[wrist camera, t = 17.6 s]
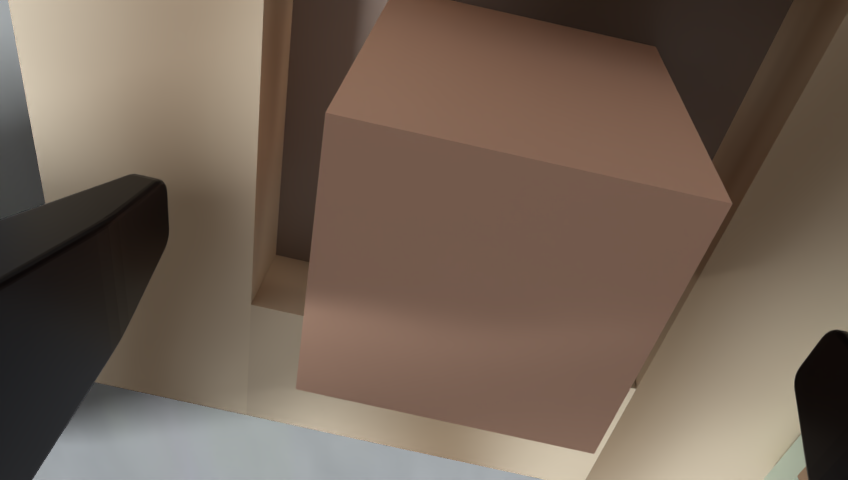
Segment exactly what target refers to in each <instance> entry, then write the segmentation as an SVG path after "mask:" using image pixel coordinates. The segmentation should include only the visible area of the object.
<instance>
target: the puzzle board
mask: <svg viewBox="0 0 848 480" xmlns="http://www.w3.org/2000/svg"><path fill="white" fill-rule="evenodd" d="M452 1H456V2H461V3H465V4H470V5H474V6H478V7H483V8H487V9H492V10H496V11H501V12H505V13H509V14H514V15H518V16H523V17H527V18H531V19H536V20H540V21H545V22H549V23H553V24H558V25H562V26H567V27H571V28H575V29H580V30H584V31H589V32H593V33H597V34H602V35H606V36H611V37H615V38H620V39H624V40H628V41H633V42H637V43H642V44H646V45H650V46H655V47H656V48H657V50H658V52H659V54H660V56H661V59H662V61H663V63H664V65H665V67H666V69H667V71H668V73H669V75H670V77H671V79H672V81H673V83H674V85H675V87H676V89H677V91H678V93H679V95H680V97H681V99H682V101H683V103H684V106H685V108H686V110H687V112H688V114H689V116H690V118H691V120H692V122H693V124H694V126H695V128H696V130H697V132H698V134H699V136H700V138H701V140H702V142H703V144H704V146H705V148H706V150H707V153H708V155H709V157H710V159H711V161H712V163H713V165H714V167H715V169H716V171H717V173H718V175H719V177H720V179H721V181H722V183H723V185H724V187H725V189H726V191H727V193H728V195H729V198H730V200H731V202H732V206H731V207H730V209H729V211H728V213H727V215H726V216H725V218H724V220H723V222H722V224H721V226H720V227H719V229H718V231H717V233H716V235H715V236H714V238H713V240H712V242H711V244H710V245H709V247H708V249H707V251H706V253H705V254H704V256H703V258H702V260H701V262H700V263H699V265H698V267H697V269H696V271H695V273H694V274H693V276H692V278H691V280H690V282H689V283H688V285H687V287H686V289H685V291H684V292H683V294H682V296H681V298H680V300H679V301H678V303H677V305H676V307H675V309H674V310H673V312H672V314H671V316H670V318H669V320H668V321H667V323H666V325H665V327H664V329H663V330H662V332H661V334H660V336H659V338H658V339H657V341H656V343H655V345H654V347H653V348H652V350H651V352H650V354H649V356H648V357H647V359H646V361H645V363H644V365H643V367H642V368H641V370H640V372H639V374H638V376H637V377H636V379H635V381H634V383H633V385H632V386H631V388H630V390H629V392H628V394H627V395H626V397H625V399H624V401H623V403H622V404H621V406H620V408H619V410H618V412H617V414H616V415H615V417H614V419H613V421H612V423H611V424H610V426H609V428H608V430H607V432H606V433H605V435H604V437H603V439H602V441H601V442H600V444H599V446H598V448H597V450H596V451H595V453H594V454H591V453H587V452H582V451H578V450H573V449H568V448H564V447H559V446H555V445H550V444H545V443H541V442H536V441H532V440H527V439H522V438H518V437H513V436H509V435H504V434H500V433H495V432H490V431H486V430H481V429H477V428H472V427H467V426H463V425H458V424H454V423H449V422H444V421H440V420H435V419H431V418H426V417H421V416H417V415H412V414H408V413H403V412H398V411H394V410H389V409H385V408H380V407H375V406H371V405H366V404H362V403H357V402H352V401H348V400H343V399H339V398H334V397H329V396H325V395H320V394H316V393H311V392H307V391H302V390H297V389H296V381H297V372H298V363H299V354H300V344H301V335H302V326H303V316H304V307H305V298H306V288H307V279H308V270H309V260H310V251H311V242H312V232H313V223H314V214H315V204H316V195H317V186H318V177H319V167H320V158H321V149H322V139H323V130H324V121H325V112H326V111H327V109H328V107H329V105H330V103H331V102H332V100H333V98H334V96H335V95H336V93H337V91H338V89H339V87H340V86H341V84H342V82H343V80H344V78H345V77H346V75H347V73H348V71H349V70H350V68H351V66H352V64H353V62H354V61H355V59H356V57H357V55H358V54H359V52H360V50H361V48H362V46H363V45H364V43H365V41H366V39H367V37H368V36H369V34H370V32H371V30H372V29H373V27H374V25H375V23H376V21H377V20H378V18H379V16H380V14H381V12H382V11H383V9H384V7H385V5H386V4H387V2H388V0H8V2H9V7H10V13H11V18H12V24H13V29H14V35H15V40H16V46H17V51H18V57H19V62H20V68H21V73H22V79H23V84H24V90H25V95H26V101H27V106H28V112H29V117H30V123H31V128H32V134H33V139H34V145H35V150H36V156H37V161H38V166H39V172H40V177H41V183H42V188H43V194H44V199H45V204H46V203H49V202H52V201H55V200H58V199H61V198H63V197H66V196H69V195H72V194H75V193H78V192H80V191H83V190H86V189H89V188H92V187H95V186H98V185H100V184H103V183H106V182H109V181H112V180H115V179H118V178H120V177H123V176H126V175H129V174H140V175H144V176H149V177H153V178H158V179H161V180H162V181H163V182H164V183H165V184H166V187H167V194H168V214H169V238H168V242H167V245H166V248H165V250H164V252H163V254H162V256H161V258H160V261H159V263H158V265H157V267H156V269H155V271H154V273H153V275H152V277H151V279H150V281H149V284H148V286H147V288H146V290H145V292H144V294H143V296H142V298H141V300H140V302H139V304H138V307H137V309H136V311H135V313H134V315H133V317H132V319H131V321H130V323H129V325H128V327H127V329H126V331H125V333H124V335H123V337H122V339H121V341H120V342H119V344H118V346H117V347H116V349H115V351H114V352H113V354H112V356H111V357H110V359H109V360H108V362H107V363H106V365H105V366H104V368H103V370H102V371H101V373H100V374H99V376H98V377H97V379H96V381H95V382H96V383H101V384H105V385H110V386H115V387H119V388H124V389H128V390H133V391H138V392H142V393H147V394H152V395H156V396H161V397H165V398H170V399H175V400H179V401H184V402H188V403H193V404H198V405H202V406H207V407H212V408H216V409H221V410H225V411H230V412H235V413H239V414H244V415H249V416H253V417H258V418H262V419H267V420H272V421H276V422H281V423H285V424H290V425H295V426H299V427H304V428H309V429H313V430H318V431H322V432H327V433H332V434H336V435H341V436H346V437H350V438H355V439H359V440H364V441H369V442H373V443H378V444H383V445H387V446H392V447H396V448H401V449H406V450H410V451H415V452H419V453H424V454H429V455H433V456H438V457H443V458H447V459H452V460H456V461H461V462H466V463H470V464H475V465H480V466H484V467H489V468H493V469H498V470H503V471H507V472H512V473H516V474H521V475H526V476H530V477H535V478H540V479H544V480H764V478H765V477H766V476H767V475H768V473H769V472H770V471H771V470H772V469H773V467H774V466H775V465H776V464H777V463H778V461H779V460H780V459H781V458H782V457H783V455H784V454H785V453H786V452H787V451H788V449H789V448H790V447H791V446H792V445H793V443H794V442H795V441H796V440H797V439H798V437H799V436H800V435H801V430H800V423H799V417H798V410H797V403H796V397H795V390H794V380H795V375H796V373H797V371H798V369H799V367H800V366H801V365H802V363H803V362H804V361H805V359H806V358H807V357H808V355H809V354H810V353H811V351H812V350H813V349H814V347H815V346H816V345H817V343H818V342H819V341H820V339H821V338H822V337H823V336H824V335H825V334H826V333H827V332H829V331H831V330H836V329H837V330H842V331H847V332H848V0H452Z"/></svg>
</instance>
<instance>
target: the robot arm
mask: <svg viewBox="0 0 848 480" xmlns="http://www.w3.org/2000/svg"><path fill="white" fill-rule="evenodd" d="M168 238H169V214H168V194H167V187H166V184H165V183H164V182H163V181H162V180H161V179H158V178H153V177H149V176H144V175H140V174H129V175H126V176H123V177H120V178H118V179H115V180H112V181H109V182H106V183H103V184H100V185H98V186H95V187H92V188H89V189H86V190H83V191H80V192H78V193H75V194H72V195H69V196H66V197H63V198H61V199H58V200H55V201H52V202H49V203H46V204H43V205H41V206H38V207H35V208H32V209H29V210H26V211H23V212H21V213H18V214H15V215H12V216H9V217H6V218H3V219H1V220H0V480H32V479H33V478H34V476H35V475H36V473H37V471H38V470H39V468H40V467H41V465H42V464H43V462H44V460H45V459H46V457H47V456H48V454H49V453H50V451H51V449H52V448H53V446H54V445H55V443H56V442H57V440H58V439H59V437H60V435H61V434H62V432H63V431H64V429H65V428H66V426H67V424H68V423H69V421H70V420H71V418H72V417H73V415H74V413H75V412H76V410H77V409H78V407H79V406H80V404H81V402H82V401H83V399H84V398H85V396H86V395H87V393H88V392H89V390H90V388H91V387H92V385H93V384H94V382H95V381H96V379H97V377H98V376H99V374H100V373H101V371H102V370H103V368H104V366H105V365H106V363H107V362H108V360H109V359H110V357H111V356H112V354H113V352H114V351H115V349H116V347H117V346H118V344H119V342H120V341H121V339H122V337H123V335H124V333H125V331H126V329H127V327H128V325H129V323H130V321H131V319H132V317H133V315H134V313H135V311H136V309H137V307H138V304H139V302H140V300H141V298H142V296H143V294H144V292H145V290H146V288H147V286H148V284H149V281H150V279H151V277H152V275H153V273H154V271H155V269H156V267H157V265H158V263H159V261H160V258H161V256H162V254H163V252H164V250H165V248H166V245H167V242H168ZM794 390H795V397H796V403H797V410H798V417H799V423H800V430H801V437H802V443H803V450H804V457H805V463H806V470H807V476H808V480H848V332H847V331H842V330H837V329H836V330H831V331H829V332H827V333H826V334H825V335H824V336H823V337H822V338H821V339H820V341H819V342H818V343H817V345H816V346H815V347H814V349H813V350H812V351H811V353H810V354H809V355H808V357H807V358H806V359H805V361H804V362H803V363H802V365H801V366H800V367H799V369H798V371H797V373H796V375H795V380H794Z"/></svg>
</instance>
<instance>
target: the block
mask: <svg viewBox="0 0 848 480" xmlns="http://www.w3.org/2000/svg"><path fill="white" fill-rule="evenodd" d="M731 206H732V202H731V200H730V198H729V195H728V193H727V191H726V189H725V187H724V185H723V183H722V181H721V179H720V177H719V175H718V173H717V171H716V169H715V167H714V165H713V163H712V161H711V159H710V157H709V155H708V153H707V150H706V148H705V146H704V144H703V142H702V140H701V138H700V136H699V134H698V132H697V130H696V128H695V126H694V124H693V122H692V120H691V118H690V116H689V114H688V112H687V110H686V108H685V106H684V103H683V101H682V99H681V97H680V95H679V93H678V91H677V89H676V87H675V85H674V83H673V81H672V79H671V77H670V75H669V73H668V71H667V69H666V67H665V65H664V63H663V61H662V59H661V56H660V54H659V52H658V50H657V48H656V47H655V46H650V45H646V44H642V43H637V42H633V41H628V40H624V39H620V38H615V37H611V36H606V35H602V34H597V33H593V32H589V31H584V30H580V29H575V28H571V27H567V26H562V25H558V24H553V23H549V22H545V21H540V20H536V19H531V18H527V17H523V16H518V15H514V14H509V13H505V12H501V11H496V10H492V9H487V8H483V7H478V6H474V5H470V4H465V3H461V2H456V1H452V0H388V2H387V4H386V5H385V7H384V9H383V11H382V12H381V14H380V16H379V18H378V20H377V21H376V23H375V25H374V27H373V29H372V30H371V32H370V34H369V36H368V37H367V39H366V41H365V43H364V45H363V46H362V48H361V50H360V52H359V54H358V55H357V57H356V59H355V61H354V62H353V64H352V66H351V68H350V70H349V71H348V73H347V75H346V77H345V78H344V80H343V82H342V84H341V86H340V87H339V89H338V91H337V93H336V95H335V96H334V98H333V100H332V102H331V103H330V105H329V107H328V109H327V111H326V112H325V121H324V130H323V139H322V149H321V158H320V167H319V177H318V186H317V195H316V204H315V214H314V223H313V232H312V242H311V251H310V260H309V270H308V279H307V288H306V298H305V307H304V316H303V326H302V335H301V344H300V354H299V363H298V372H297V381H296V389H297V390H302V391H307V392H311V393H316V394H320V395H325V396H329V397H334V398H339V399H343V400H348V401H352V402H357V403H362V404H366V405H371V406H375V407H380V408H385V409H389V410H394V411H398V412H403V413H408V414H412V415H417V416H421V417H426V418H431V419H435V420H440V421H444V422H449V423H454V424H458V425H463V426H467V427H472V428H477V429H481V430H486V431H490V432H495V433H500V434H504V435H509V436H513V437H518V438H522V439H527V440H532V441H536V442H541V443H545V444H550V445H555V446H559V447H564V448H568V449H573V450H578V451H582V452H587V453H591V454H594V453H595V451H596V450H597V448H598V446H599V444H600V442H601V441H602V439H603V437H604V435H605V433H606V432H607V430H608V428H609V426H610V424H611V423H612V421H613V419H614V417H615V415H616V414H617V412H618V410H619V408H620V406H621V404H622V403H623V401H624V399H625V397H626V395H627V394H628V392H629V390H630V388H631V386H632V385H633V383H634V381H635V379H636V377H637V376H638V374H639V372H640V370H641V368H642V367H643V365H644V363H645V361H646V359H647V357H648V356H649V354H650V352H651V350H652V348H653V347H654V345H655V343H656V341H657V339H658V338H659V336H660V334H661V332H662V330H663V329H664V327H665V325H666V323H667V321H668V320H669V318H670V316H671V314H672V312H673V310H674V309H675V307H676V305H677V303H678V301H679V300H680V298H681V296H682V294H683V292H684V291H685V289H686V287H687V285H688V283H689V282H690V280H691V278H692V276H693V274H694V273H695V271H696V269H697V267H698V265H699V263H700V262H701V260H702V258H703V256H704V254H705V253H706V251H707V249H708V247H709V245H710V244H711V242H712V240H713V238H714V236H715V235H716V233H717V231H718V229H719V227H720V226H721V224H722V222H723V220H724V218H725V216H726V215H727V213H728V211H729V209H730V207H731Z"/></svg>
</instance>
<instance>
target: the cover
mask: <svg viewBox="0 0 848 480" xmlns="http://www.w3.org/2000/svg"><path fill="white" fill-rule="evenodd" d="M764 480H808V476H807V470H806V463H805V457H804V450H803V443H802V437H801V435H800V436H799V437H798V439H797V440H796V441H795V442H794V443H793V445H792V446H791V447H790V448H789V449H788V451H787V452H786V453H785V454H784V455H783V457H782V458H781V459H780V460H779V461H778V463H777V464H776V465H775V466H774V467H773V469H772V470H771V471H770V472H769V473H768V475H767V476H766V477H765V478H764Z"/></svg>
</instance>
